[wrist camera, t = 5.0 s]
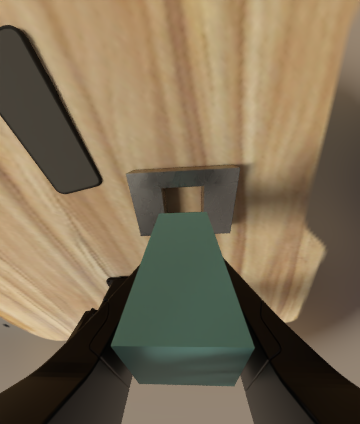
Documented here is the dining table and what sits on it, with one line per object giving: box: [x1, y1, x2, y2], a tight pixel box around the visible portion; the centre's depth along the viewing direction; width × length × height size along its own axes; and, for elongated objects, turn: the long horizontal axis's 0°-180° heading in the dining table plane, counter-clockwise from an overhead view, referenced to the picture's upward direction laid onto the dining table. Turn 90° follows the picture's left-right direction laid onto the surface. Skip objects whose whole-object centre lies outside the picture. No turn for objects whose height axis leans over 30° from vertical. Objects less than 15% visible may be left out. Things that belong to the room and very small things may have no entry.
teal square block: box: [111, 212, 255, 386], centre depth 8 cm, size 4×4×8 cm
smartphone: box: [0, 25, 102, 194], centre depth 15 cm, size 7×1×15 cm
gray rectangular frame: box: [126, 165, 240, 236], centre depth 18 cm, size 9×13×2 cm
